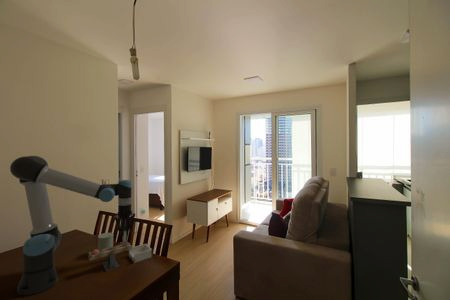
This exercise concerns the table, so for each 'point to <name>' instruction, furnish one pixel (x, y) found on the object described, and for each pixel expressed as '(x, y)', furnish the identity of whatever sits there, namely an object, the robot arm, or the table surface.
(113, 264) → the fulcrum
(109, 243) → the can
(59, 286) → the table surface
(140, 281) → the table surface
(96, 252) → the ball
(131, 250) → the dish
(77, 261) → the table surface
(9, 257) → the table surface
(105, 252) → the lever
